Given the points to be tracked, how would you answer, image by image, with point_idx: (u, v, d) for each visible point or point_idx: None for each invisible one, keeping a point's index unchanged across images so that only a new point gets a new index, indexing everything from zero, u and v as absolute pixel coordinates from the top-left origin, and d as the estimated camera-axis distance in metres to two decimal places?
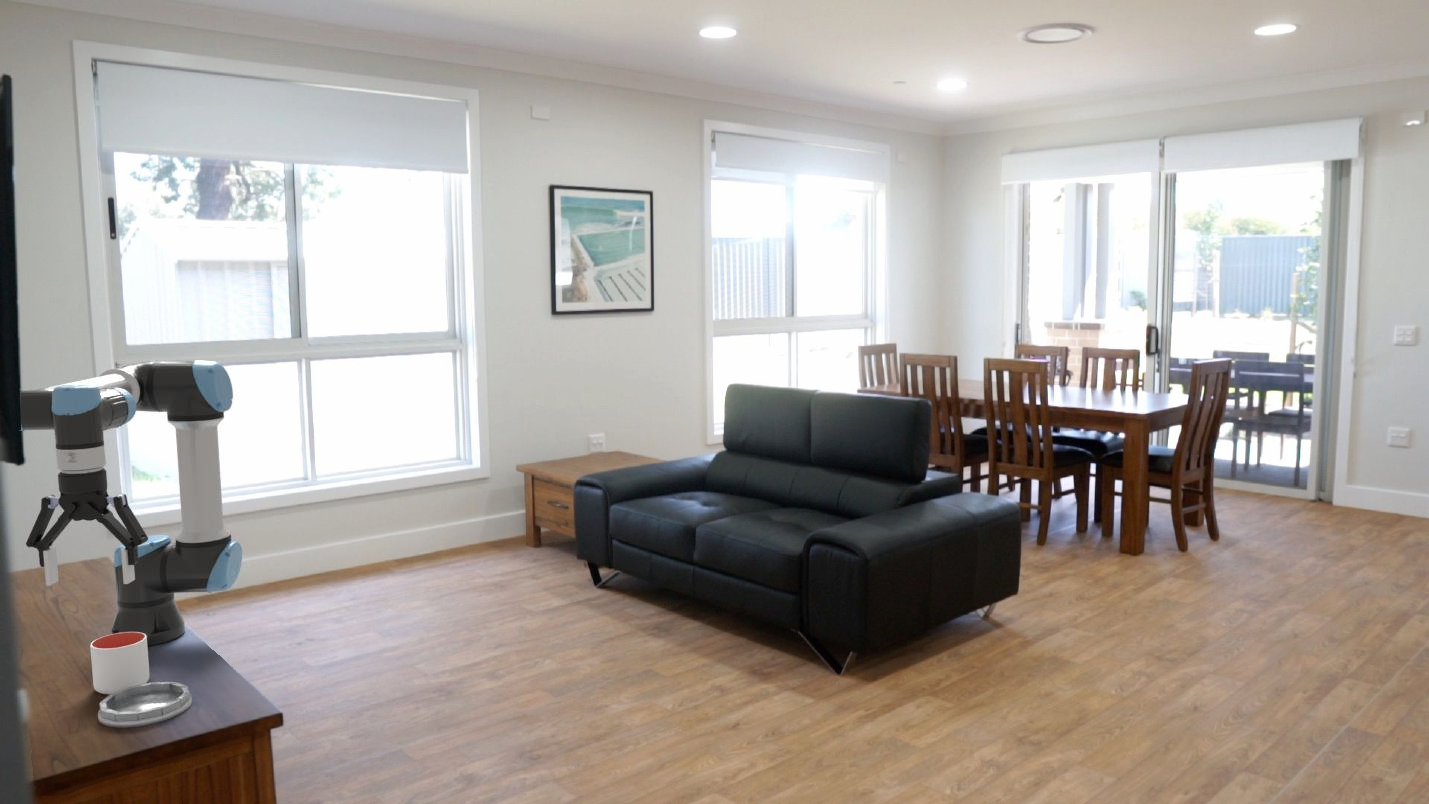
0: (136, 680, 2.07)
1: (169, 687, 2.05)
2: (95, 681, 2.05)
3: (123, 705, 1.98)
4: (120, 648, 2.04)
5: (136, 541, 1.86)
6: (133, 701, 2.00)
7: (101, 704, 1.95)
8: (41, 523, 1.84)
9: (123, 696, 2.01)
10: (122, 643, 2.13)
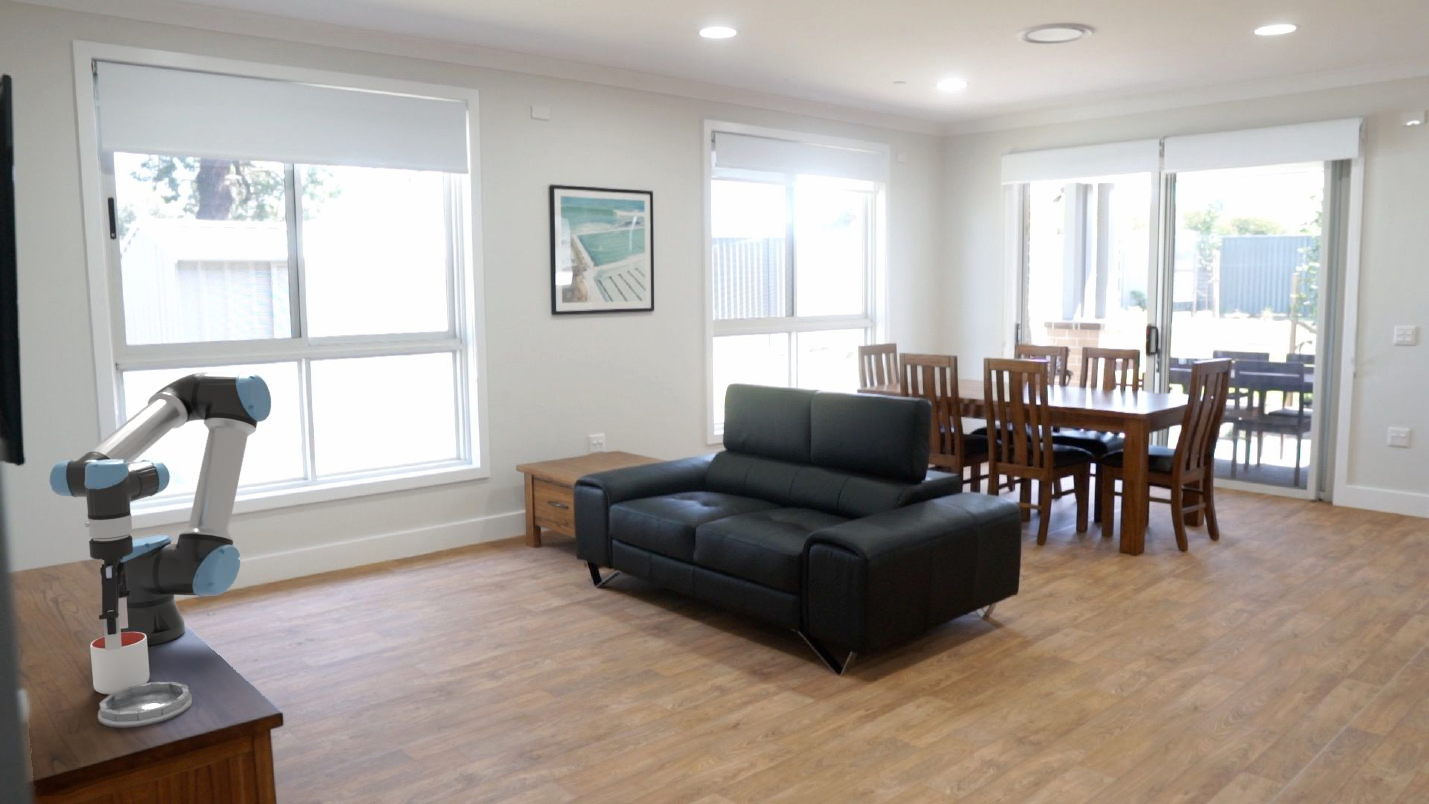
0: (136, 680, 2.07)
1: (169, 687, 2.05)
2: (95, 681, 2.05)
3: (123, 705, 1.98)
4: None
5: None
6: (133, 701, 2.00)
7: (101, 704, 1.95)
8: None
9: (123, 696, 2.01)
10: (122, 643, 2.13)
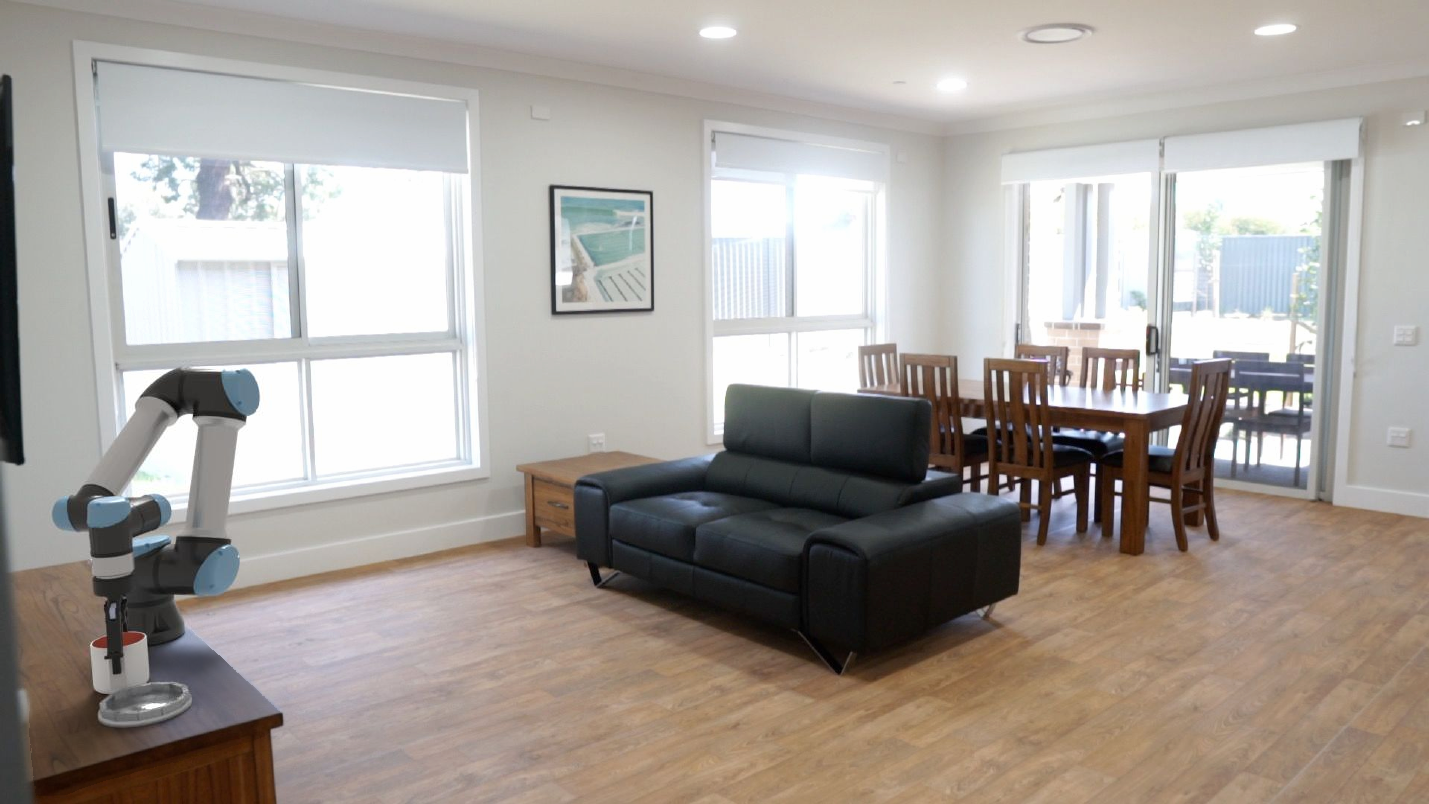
0: (136, 680, 2.07)
1: (169, 687, 2.05)
2: (95, 681, 2.05)
3: (123, 705, 1.98)
4: None
5: None
6: (133, 701, 2.00)
7: (101, 704, 1.95)
8: None
9: (123, 696, 2.01)
10: None
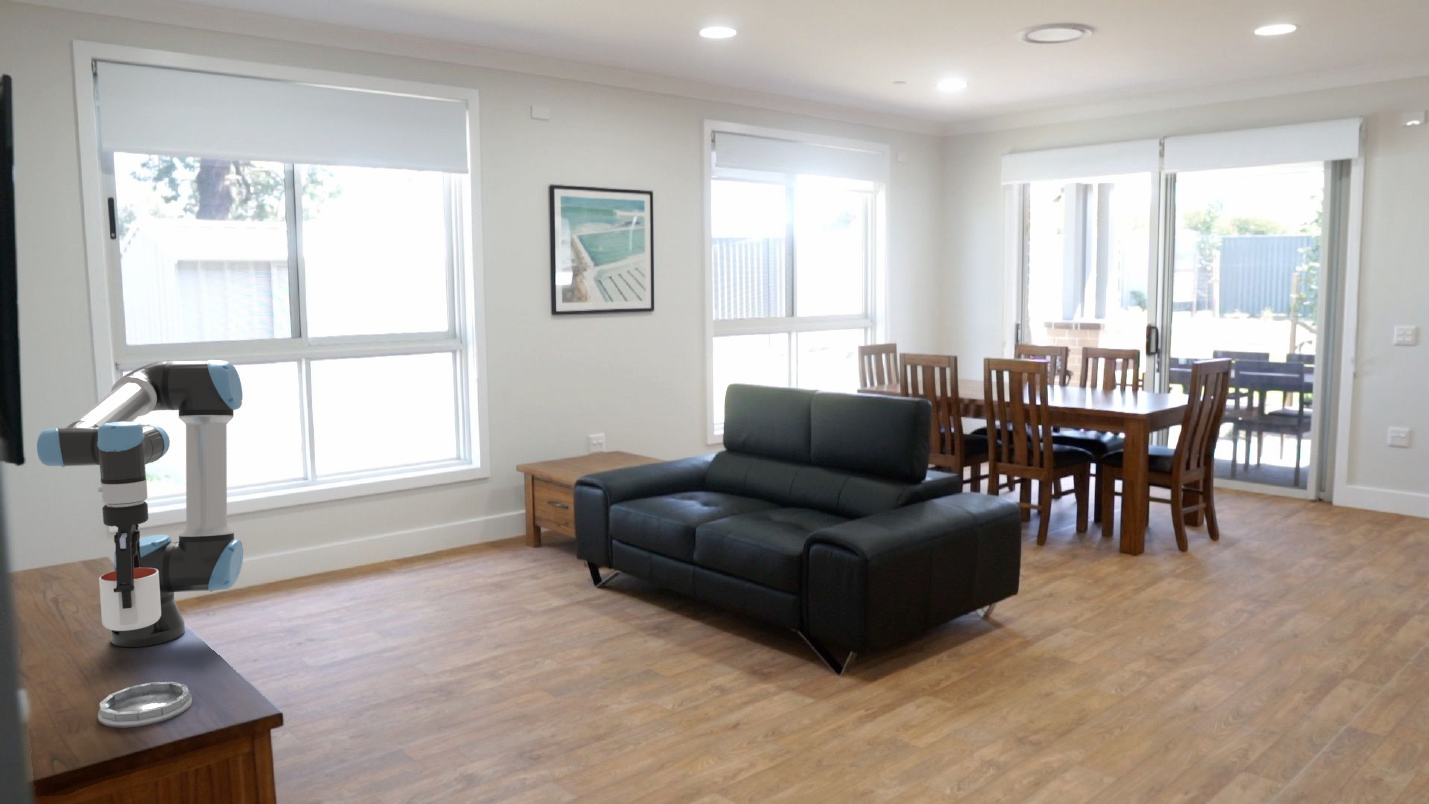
0: (147, 616, 1.95)
1: (169, 687, 2.05)
2: (103, 616, 1.93)
3: (123, 705, 1.98)
4: None
5: (117, 586, 1.89)
6: (133, 701, 2.00)
7: (101, 704, 1.95)
8: None
9: (123, 696, 2.01)
10: None
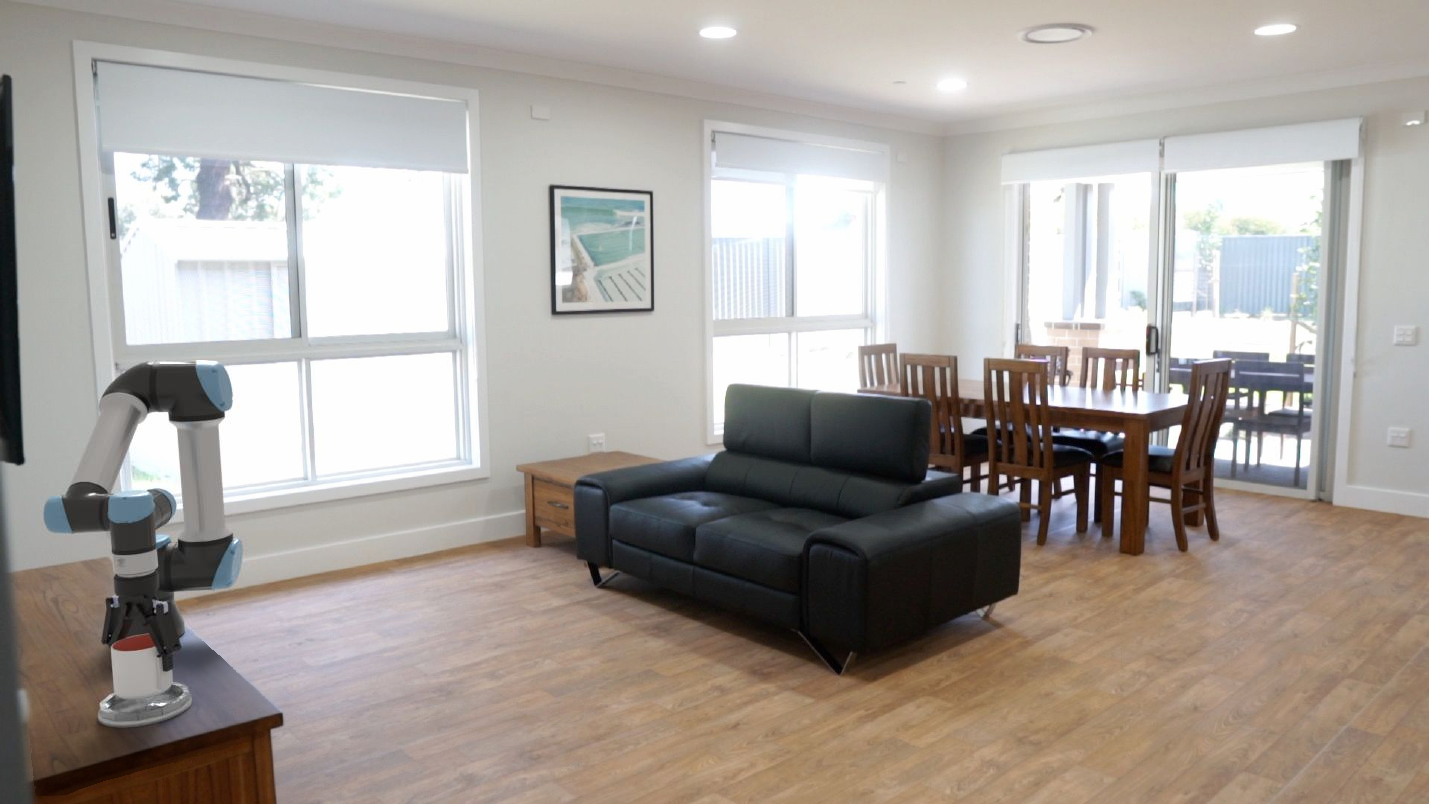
0: None
1: None
2: (134, 687, 1.93)
3: (123, 705, 1.98)
4: None
5: (167, 650, 1.93)
6: (133, 701, 2.00)
7: (101, 704, 1.95)
8: (108, 622, 1.97)
9: None
10: (123, 650, 1.99)
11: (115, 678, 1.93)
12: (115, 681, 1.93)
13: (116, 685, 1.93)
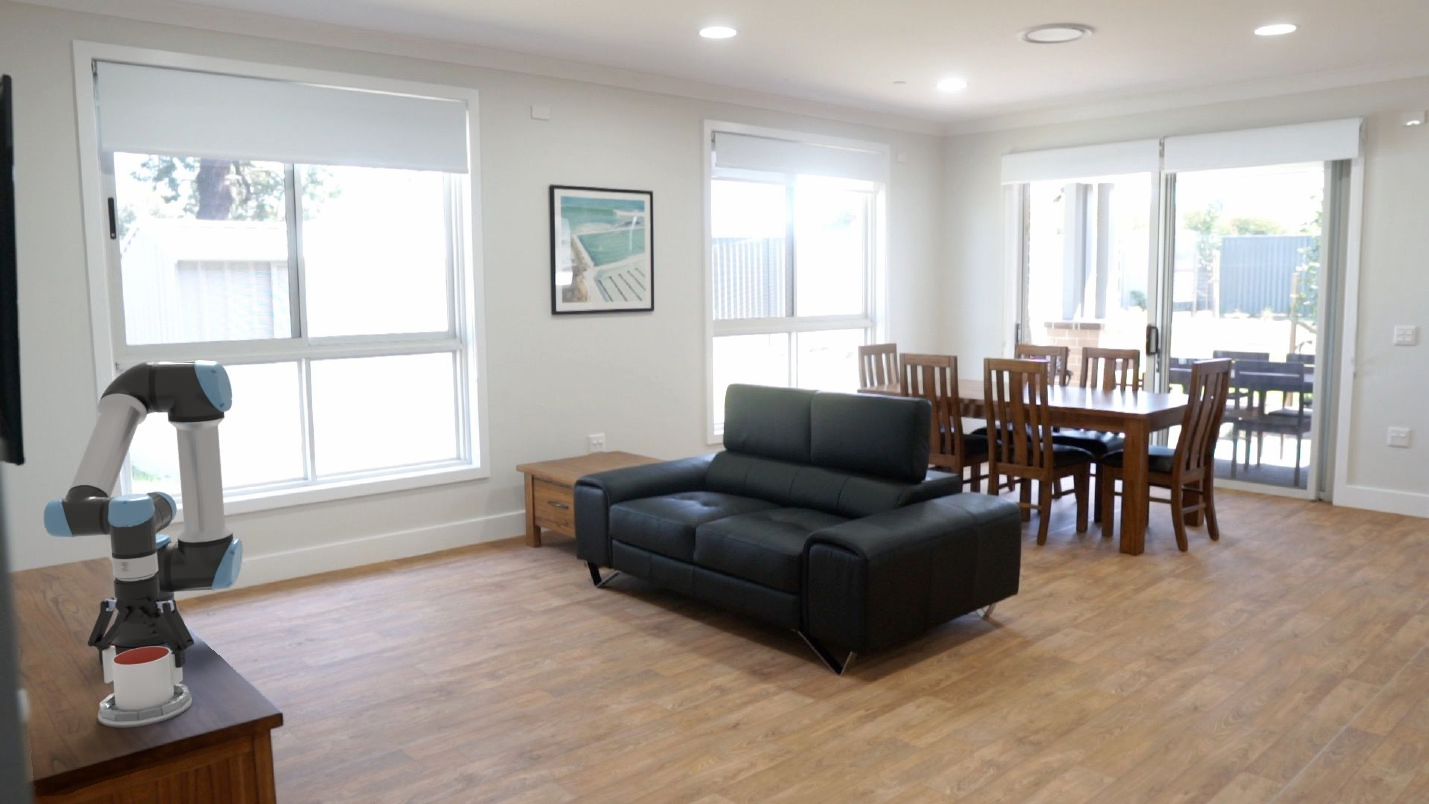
0: (173, 687, 2.01)
1: None
2: (142, 700, 1.94)
3: None
4: (168, 655, 1.98)
5: (182, 646, 1.95)
6: None
7: (101, 704, 1.95)
8: (100, 625, 1.96)
9: None
10: None
11: (120, 693, 1.93)
12: (120, 696, 1.93)
13: (121, 699, 1.93)
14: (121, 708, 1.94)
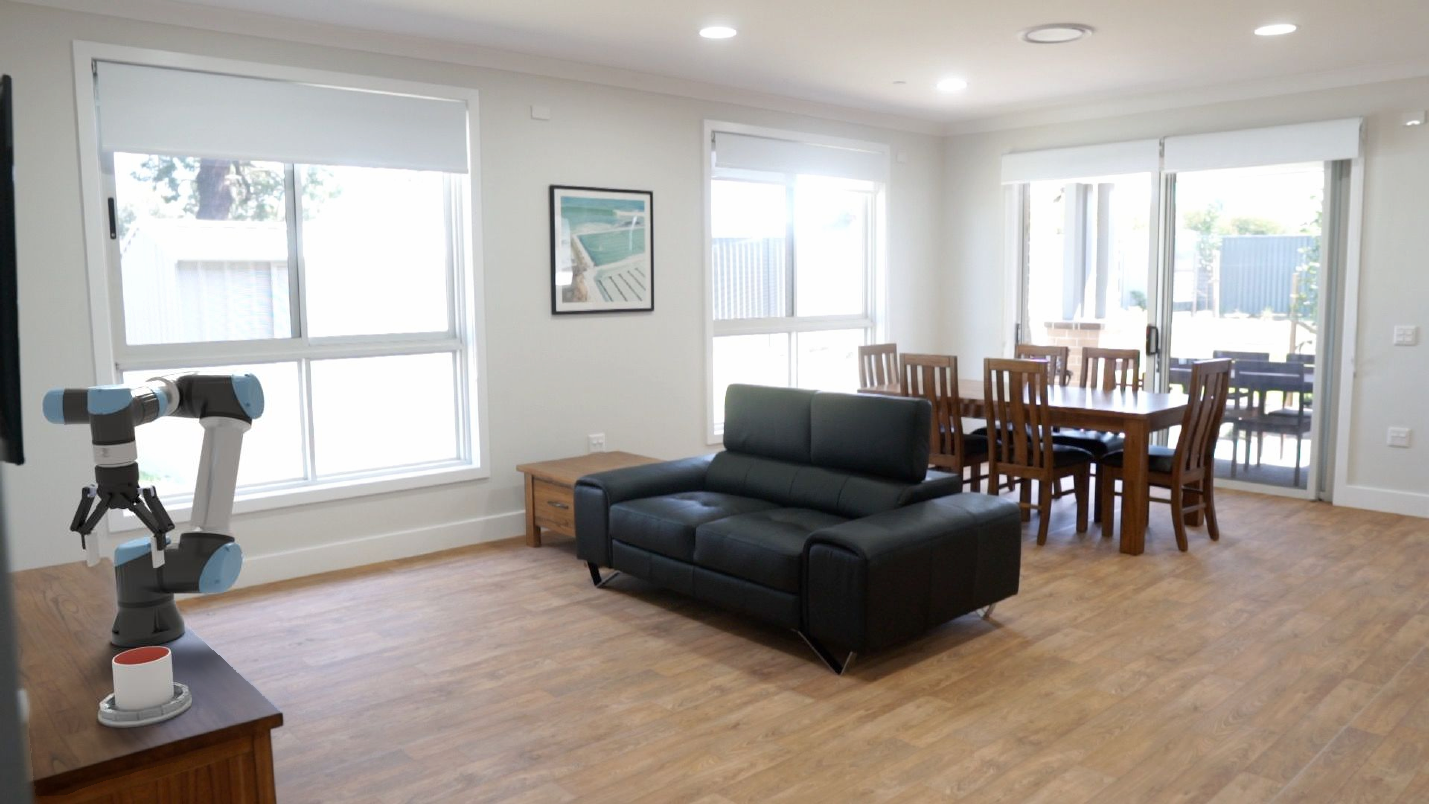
0: (173, 687, 2.01)
1: None
2: (142, 700, 1.94)
3: None
4: (168, 655, 1.98)
5: (163, 529, 2.03)
6: None
7: (101, 704, 1.95)
8: (82, 510, 2.03)
9: None
10: None
11: (120, 693, 1.93)
12: (120, 696, 1.93)
13: (121, 699, 1.93)
14: (121, 708, 1.94)
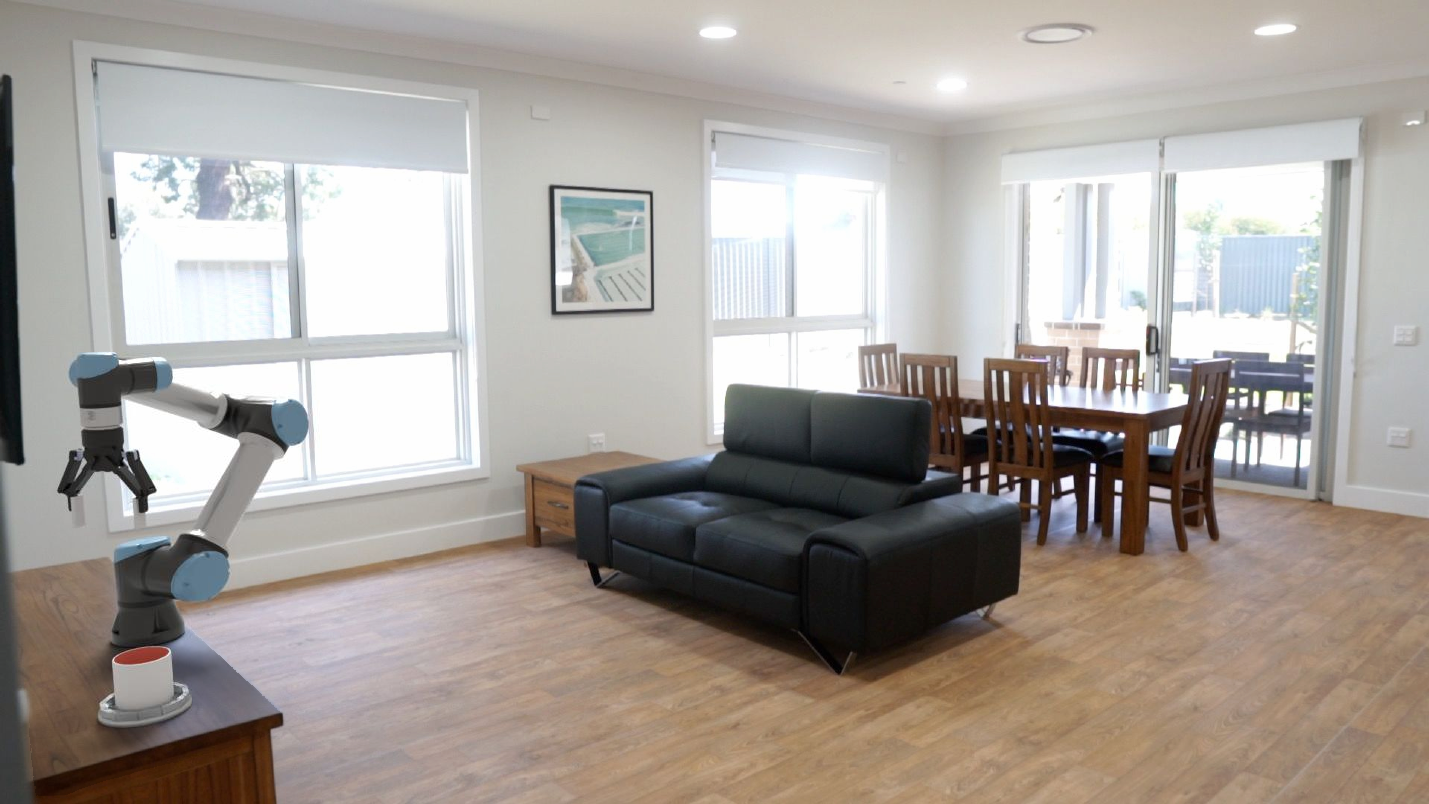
0: (173, 687, 2.01)
1: None
2: (142, 700, 1.94)
3: None
4: (168, 655, 1.98)
5: (144, 492, 2.10)
6: None
7: (101, 704, 1.95)
8: (69, 473, 2.11)
9: None
10: None
11: (120, 693, 1.93)
12: (120, 696, 1.93)
13: (121, 699, 1.93)
14: (121, 708, 1.94)
